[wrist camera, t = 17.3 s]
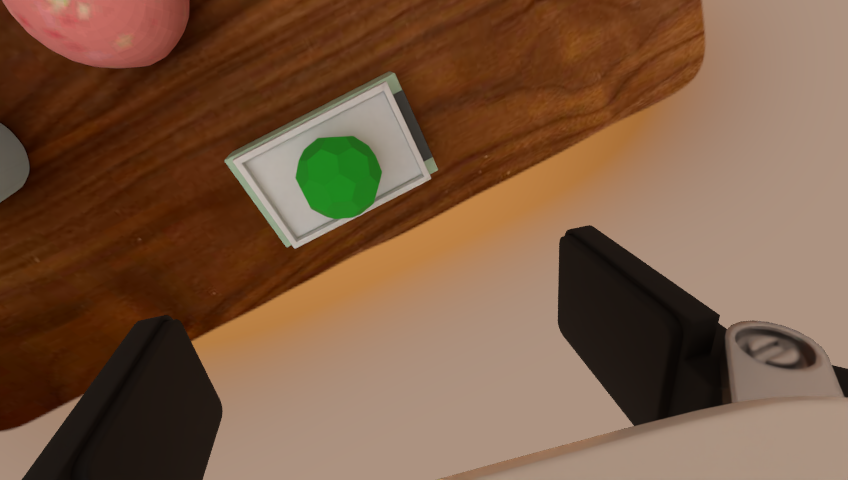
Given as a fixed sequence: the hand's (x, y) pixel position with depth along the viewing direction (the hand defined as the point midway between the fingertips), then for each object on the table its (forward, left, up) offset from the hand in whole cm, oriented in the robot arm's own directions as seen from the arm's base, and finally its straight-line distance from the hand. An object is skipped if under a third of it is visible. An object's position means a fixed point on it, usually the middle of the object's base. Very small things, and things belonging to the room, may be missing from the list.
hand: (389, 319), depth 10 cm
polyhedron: (+1, +1, -18) cm, 18 cm away
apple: (+10, -10, -21) cm, 26 cm away
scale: (+1, +1, -21) cm, 21 cm away
